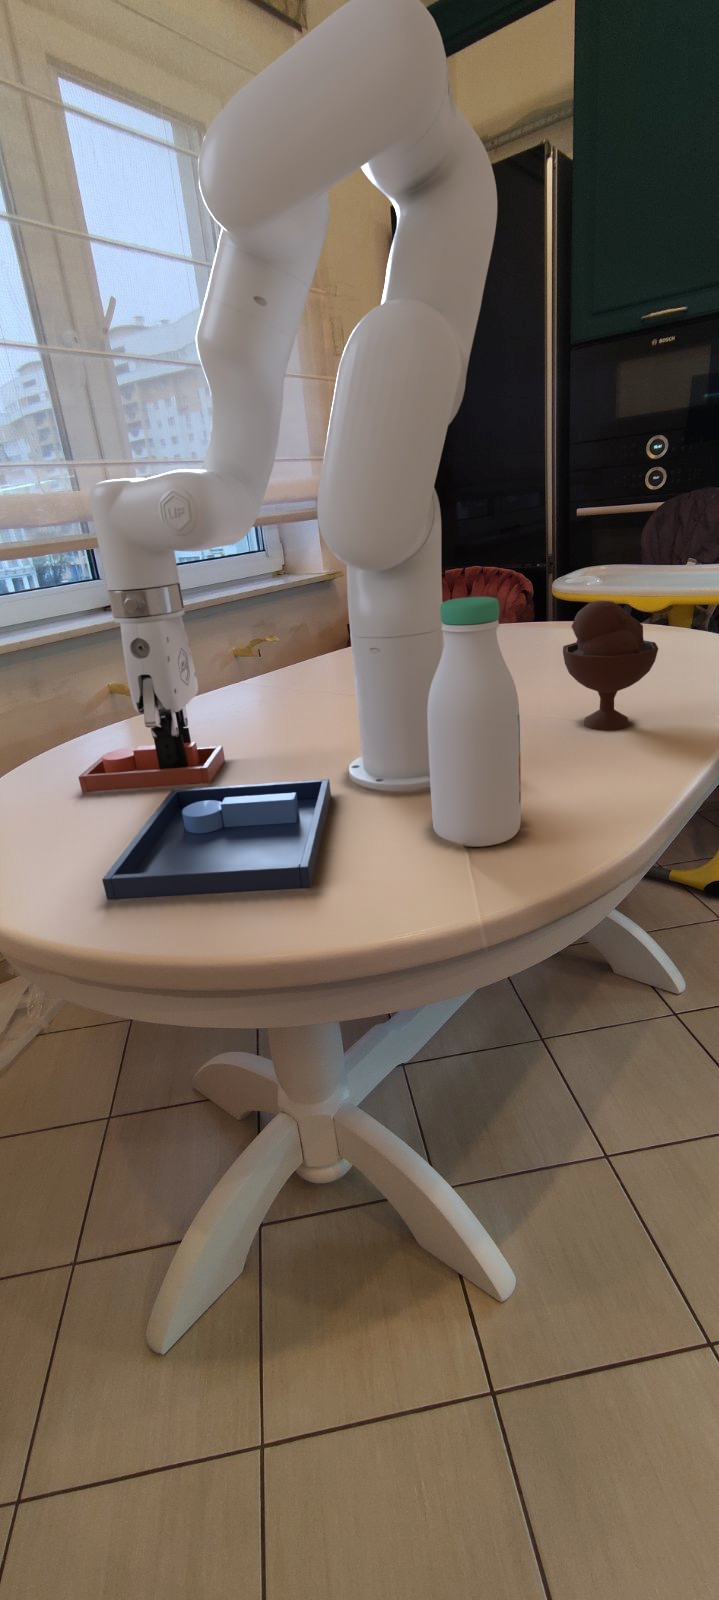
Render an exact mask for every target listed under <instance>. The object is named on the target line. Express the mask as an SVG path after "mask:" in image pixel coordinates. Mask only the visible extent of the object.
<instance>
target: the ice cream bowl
mask: <svg viewBox="0 0 719 1600" xmlns="http://www.w3.org/2000/svg"><path fill="white" fill-rule="evenodd" d="M571 629H572V631H573V634H574V635H575V638H576V642H573V643H570V644H569V643H568V644H565V645H563V646H562V655H563V660H564V665H565V667H566V670H567V671H568V674H569V675H570V676H571V677H573V679H575V681H576V682H577V683H579V684H580V685H582V686H583V687H585V688H587V689H590V690H592V691H595V692H597V694H598V696H599V698H600V699H599V709H598V710H596V711H595V712H592V713H591V714H590V715H587V716H586V717H584V720H583V726H584V727H586V728H589V729H591V730H601V731H613V730H622V729H625V728H626V727H629V726H630V721H629V717H628V716H626V715H625V714H623V713H622V712H620V711H617V710H616V709H615V697H616V696H617V693H618V692H619V691H622V690H625V689H628V688H629V687H632V686H633V685H635V684H636V683H638V682H639V681H640V680H642V679H643V678H644V677H645V676H646V675H647V674H648V673H649V672H650V671H651V670H652V668H653V666H654V664H655V662H656V659H657V655H658V652H659V647H658V645H657V642H655V641H649V640H645V639H644V624H642V623H641V622H640V621H639V620H638V619H636V618H634V617H633V616H632V615H631V614H630V613H629V612H626V611H625V610H624V609H623V607H622V606H621V605H619V604H617V603H615V601H611V600H596V601H593V602H589V603H587V604H586V605H585V606H583V607H582V608H580V609H579V611H578V612H577V613H576V614H575V617H574V619H573V622H572V624H571Z"/></svg>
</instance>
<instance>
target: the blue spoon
mask: <svg viewBox="0 0 719 1600" xmlns="http://www.w3.org/2000/svg"><path fill="white" fill-rule="evenodd" d="M182 815H183V820H184V825H185V829H186V831H188V832H190V833H196V834H200V833H208V832H212V831H216V830H218V829H220V828H222V827H223V826H224V827H238V826H253V825H269V824H284V823H297V821H298V817H299V809H298V802H297V794H296V793H283V794H269V795H254V796H239V797H225V798H224V800H223V801H222V802H220V801H215V800H207V801H200V802H196V803H193V804H190V805H188V806H186V807H185V808H184V809H183V810H182Z"/></svg>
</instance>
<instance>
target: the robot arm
mask: <svg viewBox="0 0 719 1600" xmlns="http://www.w3.org/2000/svg"><path fill="white" fill-rule="evenodd" d="M445 50H446V49H445V46H444V43H443V38H442V35H441V32H440V30H439V27H438V26H437V23H436V21H435V18H434V17H433V16H432V14H431V13H430V11H429V10H428V9H427V7H426V6H425V4H424V3H423V2H421V0H348V1H347V2H346V3H344V4H343V5H341V6H340V7H338V9H337V10H335V11H334V12H332V13H331V14H329V16H328V17H326V18H325V19H324V20H323V21H321V22H320V23H319V24H318V25H317V26H315V27H314V28H313V29H312V30H311V31H309V32H308V33H307V34H305V35H304V36H303V37H302V38H301V39H300V40H298V41H297V42H296V43H295V44H293V45H292V46H291V47H290V48H288V49H287V50H286V51H285V52H283V53H282V54H281V55H280V56H279V57H277V58H276V59H275V60H273V61H272V62H271V63H270V64H269V65H267V66H266V67H265V68H264V69H262V70H261V71H260V72H259V73H258V74H256V75H255V76H254V77H253V78H252V79H251V80H249V81H248V82H247V83H246V84H245V85H244V86H242V88H241V89H240V90H239V91H238V92H236V94H234V95H233V97H232V98H231V99H230V100H228V102H227V103H226V104H225V105H224V106H223V107H222V108H221V109H220V111H219V112H218V113H217V114H216V116H215V117H214V119H213V120H212V122H211V124H210V125H209V127H208V128H207V131H206V132H205V135H204V137H203V140H202V141H201V146H200V150H199V154H198V159H197V161H198V162H197V178H198V187H199V190H200V194H201V197H202V201H203V203H204V205H205V206H206V209H207V211H208V212H209V214H210V215H211V217H212V218H213V220H215V222H216V223H217V224H218V225H219V226H220V227H221V230H220V234H219V238H218V241H217V248H216V252H215V255H214V259H213V262H212V263H213V264H212V268H211V272H210V275H209V281H208V284H207V288H206V292H205V297H204V300H203V304H202V308H201V312H200V316H199V320H198V324H197V328H196V332H195V344H196V350H197V355H198V359H199V362H200V366H201V368H202V371H203V374H204V376H205V378H206V382H207V385H208V388H209V389H208V390H209V393H210V394H209V395H210V399H211V426H210V432H209V433H210V434H209V439H208V444H207V448H206V452H205V454H204V459H203V462H202V466H201V469H192V468H191V469H188V468H187V469H186V468H184V469H176V470H172V471H168V472H165V473H161V474H158V475H154V476H150V477H147V478H145V477H134V478H132V477H131V478H118V479H108V480H104V481H103V480H102V481H99V482H97V483H95V484H93V485H92V487H91V488H90V490H89V496H88V497H89V498H88V499H89V505H90V511H91V517H92V521H93V525H94V531H95V535H96V540H97V545H98V550H99V555H100V559H101V565H102V570H103V574H104V578H105V584H106V588H107V593H108V599H109V603H110V609H111V613H112V618H113V622H114V624H115V623H116V624H119V625H120V635H121V643H122V644H121V646H122V652H123V659H124V666H125V670H126V679H127V684H128V689H129V693H130V697H131V701H132V706H133V708H134V710H135V712H137V713H138V714H139V715H143V720H144V726H145V728H149V729H150V732H151V737H152V739H153V742H154V745H155V748H156V753H157V758H158V763H159V768H160V769H170V768H184V767H187V766H188V763H187V758H186V752H185V747H184V743H191V742H192V739H191V735H190V728H189V727H188V726H189V720H188V714H187V709H186V706H187V705H189V703H190V702H191V701H192V700H193V699H194V698H195V697H196V696H197V694H198V692H199V685H198V679H197V674H196V669H195V665H194V660H193V656H192V651H191V647H190V646H191V645H190V642H189V638H188V634H187V630H186V626H185V623H184V620H183V616H184V615H186V613H185V607H184V601H183V600H184V599H183V593H182V588H181V583H180V577H179V571H178V564H177V559H176V553H175V552H202V551H208V550H212V549H215V548H220V547H225V546H231V545H234V544H236V543H238V542H240V541H242V540H243V539H244V538H245V537H246V536H247V535H248V534H249V532H250V531H251V529H252V528H253V527H254V525H255V523H256V522H257V521H256V520H257V518H258V515H259V513H260V510H261V508H262V505H263V501H264V498H265V495H266V491H267V488H268V485H269V482H270V480H271V479H270V478H271V475H272V472H273V468H274V465H275V464H274V463H275V460H276V455H277V450H278V444H279V437H280V428H281V427H280V426H281V419H282V411H283V405H284V385H285V384H284V383H285V377H286V373H287V369H288V365H289V362H290V358H291V354H292V351H293V348H294V345H295V341H296V337H297V333H298V330H299V326H300V323H301V320H302V317H303V313H304V310H305V306H306V303H307V300H308V296H309V294H310V290H311V287H312V284H313V281H314V277H315V274H316V271H317V267H318V264H319V261H320V257H321V255H322V254H321V253H322V250H323V247H324V243H325V239H326V235H327V231H328V226H329V222H330V221H329V220H330V200H329V194H328V193H329V192H328V191H329V190H331V189H332V188H334V187H335V186H337V185H338V184H339V183H341V182H342V181H343V180H346V178H348V177H349V176H351V175H352V174H354V173H356V171H358V170H359V169H361V170H362V172H363V174H364V175H365V176H366V177H367V179H369V181H370V182H371V183H372V184H373V185H374V187H376V188H377V189H378V190H379V191H380V192H382V193H383V194H384V195H385V197H387V199H388V200H389V201H390V202H391V204H392V206H393V208H394V210H395V214H396V229H395V233H394V235H393V240H392V243H391V246H390V251H389V254H388V261H387V264H386V271H385V281H384V287H383V291H382V297H381V302H380V304H378V305H377V306H375V307H374V308H372V309H371V310H369V311H368V312H367V314H365V315H364V316H363V317H362V318H361V319H360V321H359V322H358V323H357V324H356V326H355V327H354V329H353V330H352V332H351V334H350V335H349V338H348V340H347V341H346V344H345V346H344V350H343V352H342V355H341V358H340V362H339V366H338V371H337V374H336V375H337V376H336V380H335V386H334V393H333V399H332V405H331V410H330V417H329V423H328V429H327V435H326V442H325V446H324V454H323V460H322V465H321V470H320V471H321V472H320V478H319V483H318V484H319V485H318V492H317V501H316V517H317V523H318V527H319V531H320V534H321V537H322V539H323V541H324V544H325V545H326V546H327V548H328V549H329V551H330V552H331V554H332V555H333V556H334V557H335V558H336V559H337V560H338V561H340V562H341V563H343V564H344V565H346V594H347V595H346V596H347V610H348V612H347V613H348V623H349V633H350V634H349V635H350V637H349V638H350V647H351V657H352V668H353V669H352V670H353V678H354V679H353V680H354V689H355V699H356V711H357V720H358V721H357V722H358V731H359V743H360V753H361V754H360V756H359V757H357V758H355V759H354V760H353V761H352V762H351V763H350V764H349V766H348V776H349V779H350V780H351V781H352V782H353V783H355V784H357V785H358V786H361V787H363V788H366V789H372V790H377V791H378V790H379V791H388V792H389V791H391V792H400V791H401V792H403V791H404V792H405V791H413V790H415V791H416V790H424V789H428V788H431V786H430V768H429V747H428V717H427V708H428V697H429V691H430V688H431V684H432V681H433V678H434V676H435V673H436V671H437V668H438V665H439V662H440V659H441V656H442V652H443V647H444V641H445V634H444V631H443V630H442V629H441V628H442V621H441V614H440V607H441V604H442V603H443V580H442V579H443V578H442V577H443V576H442V572H443V571H442V513H441V506H440V500H439V496H438V494H437V490H436V488H435V484H436V480H437V476H438V471H439V467H440V462H441V458H442V453H443V451H444V450H443V449H444V445H445V440H446V436H447V432H448V428H449V426H450V424H451V423H452V422H453V420H454V419H455V417H456V415H457V414H458V412H459V410H460V407H461V404H462V402H463V398H464V395H465V390H466V383H467V374H468V369H469V364H470V363H469V362H470V357H471V352H472V349H473V344H474V339H475V335H476V329H477V326H478V321H479V316H480V312H481V306H482V301H483V295H484V290H485V285H486V280H487V276H488V270H489V267H490V261H491V256H492V250H493V247H494V241H495V236H496V228H497V221H498V192H497V191H498V190H497V183H496V178H495V174H494V169H493V166H492V163H491V159H490V157H489V155H488V152H487V150H486V147H485V146H484V144H483V142H482V140H481V138H480V137H479V135H478V134H477V132H476V131H475V130H474V128H473V127H472V126H471V124H470V123H469V121H468V120H467V119H466V117H465V116H464V115H463V113H462V112H461V110H460V109H459V107H458V105H457V104H456V102H455V100H454V94H453V90H452V86H451V81H450V74H449V67H448V61H447V56H446V55H447V54H446V51H445Z"/></svg>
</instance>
